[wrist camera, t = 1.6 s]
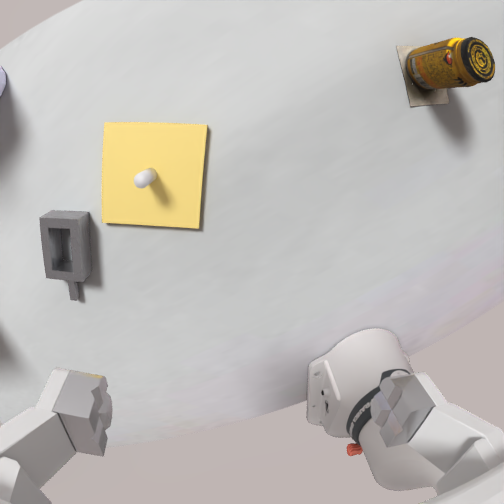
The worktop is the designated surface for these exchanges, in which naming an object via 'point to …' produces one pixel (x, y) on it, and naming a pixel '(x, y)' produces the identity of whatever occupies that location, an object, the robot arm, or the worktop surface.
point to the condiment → (444, 68)
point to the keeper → (153, 173)
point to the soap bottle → (2, 80)
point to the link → (79, 247)
